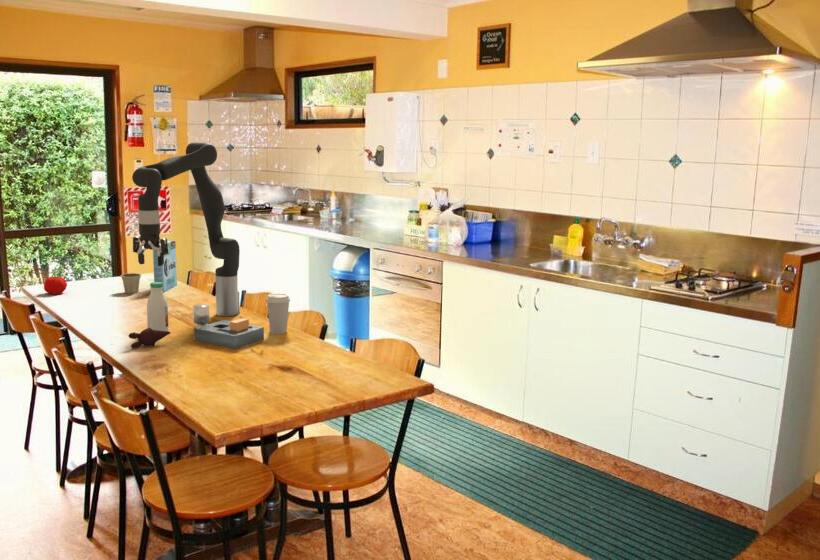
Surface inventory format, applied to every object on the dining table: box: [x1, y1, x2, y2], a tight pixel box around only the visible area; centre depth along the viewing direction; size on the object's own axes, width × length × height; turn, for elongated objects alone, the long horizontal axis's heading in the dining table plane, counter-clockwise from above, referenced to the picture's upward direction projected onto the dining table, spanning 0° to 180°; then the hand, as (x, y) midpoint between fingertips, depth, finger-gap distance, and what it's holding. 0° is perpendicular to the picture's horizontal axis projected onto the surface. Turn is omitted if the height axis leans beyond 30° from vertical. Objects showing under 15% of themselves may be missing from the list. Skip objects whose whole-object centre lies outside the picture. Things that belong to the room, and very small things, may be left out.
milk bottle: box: [146, 281, 170, 332], centre depth 290 cm, size 8×8×20 cm
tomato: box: [43, 276, 68, 295], centre depth 356 cm, size 9×10×8 cm
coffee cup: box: [265, 292, 291, 335], centre depth 296 cm, size 10×10×15 cm
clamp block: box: [230, 317, 250, 332], centre depth 280 cm, size 7×3×3 cm, turn 151°
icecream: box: [128, 327, 171, 349], centre depth 274 cm, size 7×7×15 cm
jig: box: [193, 319, 265, 350], centre depth 283 cm, size 16×20×6 cm
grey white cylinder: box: [192, 303, 210, 328], centre depth 292 cm, size 6×6×11 cm
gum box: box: [152, 240, 178, 293], centre depth 373 cm, size 20×5×23 cm, turn 178°
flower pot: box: [120, 272, 142, 295], centre depth 363 cm, size 9×9×9 cm
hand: (151, 264), depth 282 cm, fingers open, 8 cm apart
